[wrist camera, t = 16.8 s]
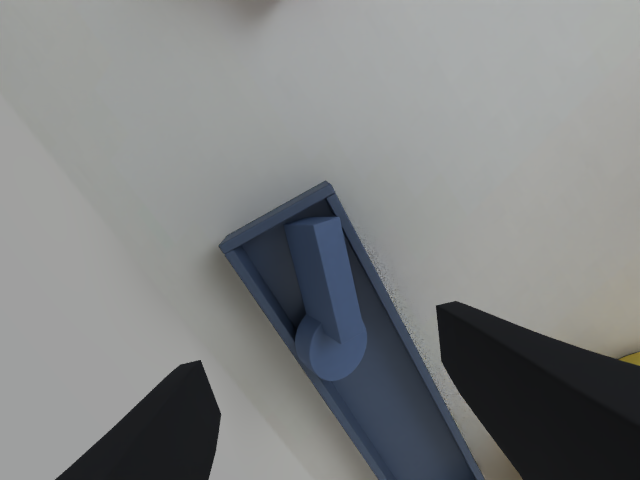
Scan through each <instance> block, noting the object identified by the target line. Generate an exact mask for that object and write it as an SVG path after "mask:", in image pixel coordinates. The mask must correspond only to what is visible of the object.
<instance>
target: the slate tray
mask: <svg viewBox="0 0 640 480" xmlns="http://www.w3.org/2000/svg"><path fill="white" fill-rule="evenodd" d="M305 217H340V221H341V226H342V230H343V235H344V240H345V244H346V249H347V253H348V258H349V263H350V267H351V272H352V276H353V281H354V286H355V290H356V295H357V300H358V304H359V309H360V313H361V318H362V321H363V323H364V325H365V328H366V332H367V344H366V349H365V353H364V355H363V358H362V360H361V361H360V363H359V365H358V366H357V367H356V369H355V370H354V371H353V372H352V373H351V374H349V375H348V376H346V377H345V378H343V379H340V380H337V381H327V380H323V379H321V378H319V377H318V376H317V375H316V374H315V373H313V372H312V371H311V370H310V369H309V368H308V367H307V366H306V365H304V364H303V363H302V362H301V360H300V359H299V357H298V355H297V352H296V348H295V337H296V332H297V329H298V326H299V324H300V322H301V321H302V319H303V318H304V316H305V315H306V311H305V307H304V303H303V299H302V295H301V291H300V287H299V284H298V280H297V276H296V272H295V268H294V264H293V260H292V256H291V253H290V249H289V245H288V241H287V237H286V233H285V229H284V225H283V224H285V223H288V222H292V221H295V220H298V219H301V218H305ZM219 248H220V249H221V251H222V252H223V253H224V254H225V256H226V258H227V259H228V261H229V262H230V264H231V265H232V267H233V268H234V269H235V271H236V272H237V274H238V275H239V277H240V278H241V280H242V281H243V283H244V284H245V286H246V287H247V288H248V290H249V291H250V293H251V294H252V296H253V297H254V299H255V300H256V302H257V303H258V304H259V306H260V307H261V309H262V310H263V312H264V313H265V315H266V316H267V318H268V319H269V321H270V322H271V323H272V325H273V326H274V328H275V329H276V331H277V332H278V334H279V335H280V337H281V338H282V339H283V341H284V342H285V344H286V345H287V347H288V348H289V350H290V351H291V353H292V354H293V355H294V357H295V358H296V360H297V361H298V363H299V364H300V366H301V367H302V369H303V370H304V372H305V373H306V374H307V376H308V377H309V379H310V380H311V382H312V383H313V385H314V386H315V388H316V389H317V390H318V392H319V393H320V395H321V396H322V398H323V399H324V401H325V402H326V404H327V405H328V406H329V408H330V409H331V411H332V412H333V414H334V415H335V417H336V418H337V420H338V421H339V423H340V424H341V425H342V427H343V428H344V430H345V431H346V433H347V434H348V436H349V437H350V439H351V440H352V441H353V443H354V444H355V446H356V447H357V449H358V450H359V452H360V453H361V455H362V456H363V458H364V459H365V460H366V462H367V463H368V465H369V466H370V468H371V469H372V471H373V472H374V474H375V475H376V476H377V478H378V479H379V480H485V479H484V477H483V475H482V473H481V471H480V469H479V467H478V466H477V464H476V462H475V460H474V458H473V456H472V454H471V452H470V450H469V448H468V446H467V444H466V443H465V441H464V439H463V437H462V435H461V433H460V431H459V429H458V427H457V425H456V423H455V421H454V419H453V418H452V416H451V414H450V412H449V410H448V408H447V406H446V404H445V402H444V400H443V398H442V396H441V395H440V393H439V391H438V389H437V387H436V385H435V383H434V381H433V379H432V377H431V375H430V373H429V372H428V370H427V368H426V366H425V364H424V362H423V360H422V358H421V356H420V354H419V352H418V350H417V348H416V347H415V345H414V343H413V341H412V339H411V337H410V335H409V333H408V331H407V329H406V327H405V325H404V324H403V322H402V320H401V318H400V316H399V314H398V312H397V310H396V308H395V306H394V304H393V302H392V301H391V299H390V297H389V295H388V293H387V291H386V289H385V287H384V285H383V283H382V281H381V279H380V278H379V276H378V274H377V272H376V270H375V268H374V266H373V264H372V262H371V260H370V258H369V256H368V254H367V253H366V251H365V249H364V247H363V245H362V243H361V241H360V239H359V237H358V235H357V233H356V231H355V230H354V228H353V226H352V224H351V222H350V220H349V218H348V216H347V214H346V212H345V210H344V208H343V207H342V205H341V203H340V201H339V199H338V197H337V195H336V194H335V191H334V189H333V187H332V185H331V184H330V183H328V182H327V181H324V182H322V183H320V184H319V185H317V186H315V187H313V188H311V189H310V190H308V191H306V192H304V193H302V194H301V195H299V196H297V197H295V198H294V199H292V200H290V201H288V202H286V203H285V204H283V205H281V206H279V207H277V208H276V209H274V210H272V211H270V212H268V213H267V214H265V215H263V216H261V217H259V218H258V219H256V220H254V221H252V222H250V223H249V224H247V225H245V226H243V227H242V228H240V229H238V230H236V231H234V232H233V233H231V234H229V235H227V236H226V238H225V239H224V240H223V241H222V242H221V244H220V245H219Z"/></svg>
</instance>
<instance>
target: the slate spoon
mask: <svg viewBox="0 0 640 480" xmlns="http://www.w3.org/2000/svg"><path fill="white" fill-rule="evenodd" d="M283 225H284V229H285V233H286V237H287V241H288V245H289V249H290V253H291V256H292V260H293V264H294V268H295V272H296V276H297V280H298V284H299V287H300V291H301V295H302V299H303V303H304V307H305V311H306V315H305V316H304V318H303V319H302V321H301V322H300V324H299V326H298V329H297V332H296V337H295V348H296V352H297V355H298V357H299V359H300V360H301V362H302V363H303V364H304V365H306V366H307V367H308V368H309V369H310V370H311V371H312V372H313V373H315V374H316V375H317V376H318V377H319V378H321V379H323V380H327V381H337V380H340V379H343V378H345V377H346V376H348V375H349V374H351V373H352V372H353V371H354V370H355V369H356V367H357V366H358V365H359V363H360V361H361V360H362V358H363V355H364V353H365V349H366V344H367V332H366V328H365V325H364V323H363V321H362V318H361V313H360V309H359V304H358V300H357V295H356V290H355V286H354V281H353V276H352V272H351V267H350V263H349V258H348V253H347V249H346V244H345V240H344V235H343V230H342V226H341V221H340V217H305V218H301V219H298V220H295V221H292V222H288V223H285V224H283Z"/></svg>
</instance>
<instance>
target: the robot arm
mask: <svg viewBox="0 0 640 480" xmlns="http://www.w3.org/2000/svg"><path fill="white" fill-rule="evenodd" d="M436 310H437V320H438V331H439V341H440V351H441V361H442V363H443V365H444V367H445V369H446V370H447V372H448V374H449V376H450V378H451V379H452V381H453V383H454V384H455V386H456V388H457V389H458V391H459V393H460V394H461V396H462V397H463V398H464V400H465V401H466V403H467V404H468V405H469V407H470V408H471V409H472V411H473V412H474V414H475V415H476V416H477V418H478V419H479V420H480V422H481V423H482V424H483V426H484V427H485V428H486V430H487V431H488V432H489V434H490V435H491V436H492V438H493V439H494V441H495V442H496V443H497V445H498V446H499V447H500V449H501V450H502V451H503V453H504V454H505V455H506V457H507V458H508V459H509V461H510V462H511V463H512V465H513V466H514V467H515V469H516V470H517V471H518V473H519V474H520V476H521V477H522V479H523V480H640V366H639V365H635V364H632V363H628V362H625V361H621V360H618V359H614V358H611V357H607V356H604V355H601V354H598V353H594V352H591V351H588V350H585V349H582V348H579V347H576V346H573V345H570V344H568V343H565V342H562V341H559V340H556V339H553V338H550V337H547V336H545V335H542V334H539V333H537V332H534V331H531V330H529V329H526V328H523V327H521V326H518V325H516V324H513V323H511V322H508V321H506V320H503V319H501V318H498V317H496V316H493V315H491V314H488V313H486V312H483V311H481V310H478V309H476V308H473V307H471V306H468V305H465V304H463V303H460V302H457V301H454V302H450V303H445V304H441V305H437V306H436ZM220 418H221V413H220V410H219V407H218V405H217V402H216V400H215V397H214V394H213V391H212V389H211V386H210V384H209V381H208V378H207V376H206V373H205V370H204V368H203V365H202V362H201V360H199V361H194V362H190V363H186V364H181V365H180V366H178V367H177V368H176V369H174V370H173V371H172V372H171V373H170V374H169V375H168V376H167V377H166V378H164V379H163V380H162V381H161V382H160V383H159V384H158V385H157V386H156V387H155V388H154V389H153V390H152V391H151V392H150V393H149V394H148V395H147V396H146V397H145V398H144V399H142V400H141V401H140V402H139V403H138V404H137V405H136V406H135V407H134V408H133V409H132V410H131V411H130V412H129V413H128V414H127V415H126V416H125V417H124V418H123V419H122V420H121V421H119V422H118V423H117V424H116V425H115V426H114V427H113V428H112V429H111V430H110V431H109V432H108V433H107V434H106V435H104V436H103V437H102V438H101V439H100V440H99V441H98V442H97V443H96V444H94V445H93V446H92V447H91V448H90V449H89V450H88V451H87V452H86V453H85V454H84V455H82V456H81V457H80V458H79V459H78V460H77V461H76V462H75V463H74V464H72V466H71V467H69V468H68V469H67V470H66V471H64V472H63V473H62V474H61V475H60V476H59V477H58V478H56V479H55V480H208V479H209V475H210V471H211V468H212V464H213V460H214V456H215V452H216V445H217V439H218V433H219V425H220Z"/></svg>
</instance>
